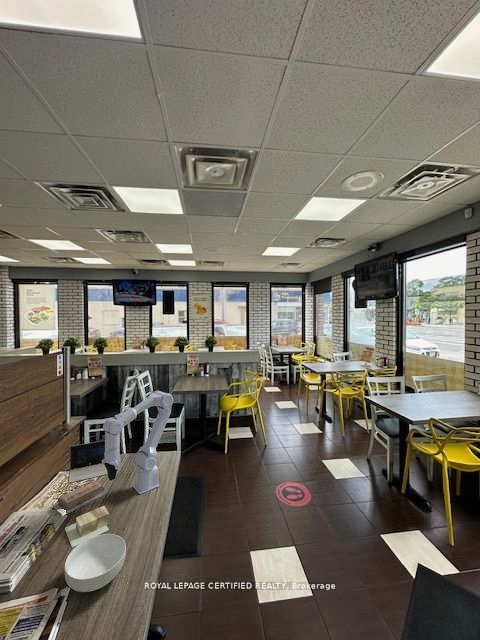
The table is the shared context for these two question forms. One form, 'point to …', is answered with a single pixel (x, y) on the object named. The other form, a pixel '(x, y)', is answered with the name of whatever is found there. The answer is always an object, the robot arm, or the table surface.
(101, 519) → the birch block
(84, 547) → the cereal bowl
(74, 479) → the laptop
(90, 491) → the packaged product
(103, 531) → the mat
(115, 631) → the table surface
